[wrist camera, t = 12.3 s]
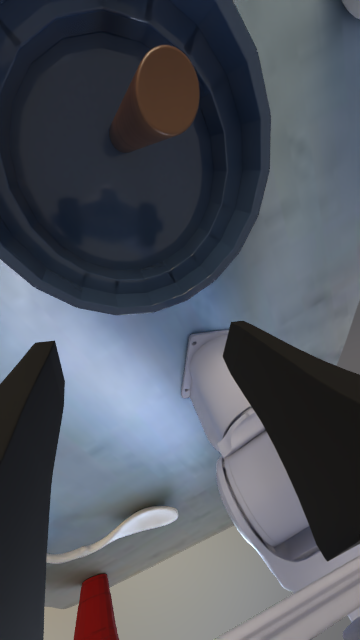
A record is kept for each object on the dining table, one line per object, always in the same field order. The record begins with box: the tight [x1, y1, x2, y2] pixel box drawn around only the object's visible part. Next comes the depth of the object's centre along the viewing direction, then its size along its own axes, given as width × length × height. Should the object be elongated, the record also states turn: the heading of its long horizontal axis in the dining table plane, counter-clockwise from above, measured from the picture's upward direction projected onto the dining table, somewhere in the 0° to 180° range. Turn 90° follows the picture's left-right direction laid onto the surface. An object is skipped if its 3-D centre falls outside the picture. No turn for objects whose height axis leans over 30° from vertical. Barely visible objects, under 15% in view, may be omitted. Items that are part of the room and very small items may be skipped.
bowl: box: [0, 0, 271, 315], centre depth 13 cm, size 15×15×4 cm
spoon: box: [46, 506, 178, 563], centre depth 39 cm, size 9×32×4 cm, turn 81°
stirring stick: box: [109, 45, 200, 153], centre depth 9 cm, size 2×2×10 cm
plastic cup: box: [74, 574, 119, 640], centre depth 52 cm, size 11×11×12 cm
